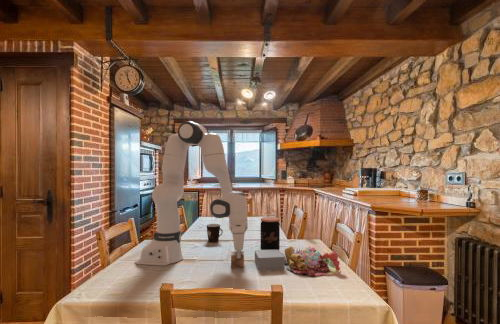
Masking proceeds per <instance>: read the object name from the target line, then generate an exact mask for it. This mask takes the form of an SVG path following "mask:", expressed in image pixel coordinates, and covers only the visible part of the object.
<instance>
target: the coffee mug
mask: <svg viewBox="0 0 500 324" xmlns="http://www.w3.org/2000/svg"><path fill="white" fill-rule="evenodd" d="M206 233H207V241H208V243H217V242H219V239H220V237H221V236H222V235H223V233H224V231H223V228H221V224H219V223H209V224H206Z"/></svg>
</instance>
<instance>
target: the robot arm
mask: <svg viewBox="0 0 500 324" xmlns="http://www.w3.org/2000/svg"><path fill="white" fill-rule="evenodd" d="M190 147H193V148H194V147H199V148H200V151H201V157H202V162H203V167H204V169H205V170H206V171H207V172H208V173H209V174H211V175H212V176H214V177H215V178H216V179H217V181H218V183H219V187H220V191H221V197H218V198H215V199H214V200H212V201H211V203H210V205H209V210H210V214H211V215H212V217H214V218H215V219H224V218H228V230H229V231H230V233H231V234H232V240H233V247H234V251H236V252H237V258H241V251H244V250H243V249H244V242H245V241H244V240H245V235H246V234H245V233H247V232H246V231H247V230H248V229H249V227H248V226H249V225H248V223H249V221H248V214H247V213H248V200H247V199H248V198H247V195H246V194H245V193H244V192H242V191H238V190H237V191H236V190H234V188H233V187H234V186H233V182H232V179H231V174H230V172H229V167H228V165H227V160H226V155H225V154H226V153H225V150H224V149H225V148H224V145H223V142H222V139H221V137H220V135H219V134H218V133H214V132H209V130H208V128H206V127H205V126H204V125H202V124H200V123H198V122H194V121H191V120H189V121H188V120H187V121H183V122H182V123H180V125H179V126H178V127H177V133H173V134H171V135H169V137H168V138H167V141H166V144H165V148H164V152H163V159H162V164H161V171H162V183H160V184H158V185H157V186H155V187H154V188H153V190H152V193H151V198H152V201H153V202H154V205H155V212H156V217H157V223H156V225H157V228H156V229H157V230H155V231H154V232H153V234H152V238H153V239H151V240H150V241H149V242H148V243H146V244H145V245H144V246H143V248H142V249H141V251H140V255H139V256H138V257H137V258H136V259H135V264H136V265H147V266H167V265H171V264H174V263H178V262H180V261H182V260H183V259H184V256H183V254H182V253H183V252H182V247H181V246H182V245H181V241H182V231H181V215H180V213H179V212H180V211H179V208H178V202H179V201H180V200H181V199H182V198H183V196H184V193H185V192H184V191H185V189H184V186H185V185H184V183H185V182H184V181H185V180H184V178H185V175H184V174H185V169H186V168H185V166H186V162H187V157H188V155H187V154H188V149H189V148H190Z"/></svg>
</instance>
